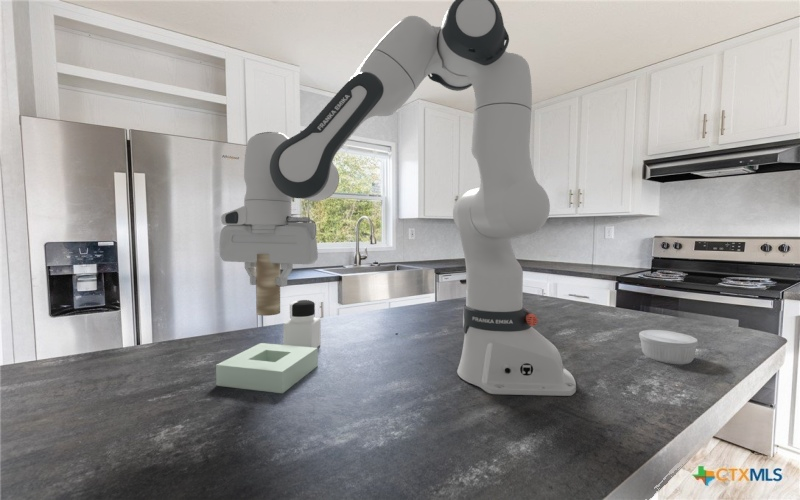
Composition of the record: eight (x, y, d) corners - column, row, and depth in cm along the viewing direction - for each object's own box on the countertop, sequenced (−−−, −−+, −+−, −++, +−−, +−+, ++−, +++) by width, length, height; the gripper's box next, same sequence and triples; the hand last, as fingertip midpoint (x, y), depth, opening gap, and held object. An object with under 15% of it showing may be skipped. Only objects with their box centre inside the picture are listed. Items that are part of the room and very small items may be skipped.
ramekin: (644, 362, 83) (645, 339, 83) (633, 348, 93) (634, 327, 93) (705, 369, 79) (706, 345, 78) (687, 353, 89) (688, 332, 89)
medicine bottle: (321, 344, 95) (320, 298, 94) (311, 353, 88) (311, 304, 87) (294, 343, 95) (293, 298, 95) (283, 352, 88) (282, 303, 88)
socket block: (317, 365, 80) (317, 347, 79) (282, 393, 66) (282, 371, 66) (260, 360, 83) (260, 343, 83) (216, 385, 69) (216, 364, 69)
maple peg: (284, 311, 75) (284, 253, 75) (272, 316, 71) (271, 254, 71) (265, 310, 77) (265, 252, 76) (251, 314, 72) (251, 254, 72)
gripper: (323, 217, 74) (323, 285, 74) (235, 217, 78) (235, 281, 79) (308, 215, 67) (308, 290, 68) (213, 215, 72) (214, 285, 73)
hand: (268, 285), depth 74 cm, fingers closed on maple peg, 4 cm apart
